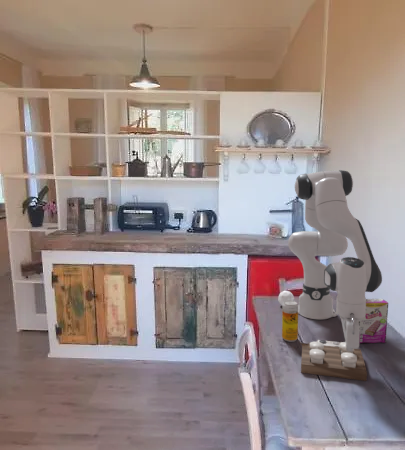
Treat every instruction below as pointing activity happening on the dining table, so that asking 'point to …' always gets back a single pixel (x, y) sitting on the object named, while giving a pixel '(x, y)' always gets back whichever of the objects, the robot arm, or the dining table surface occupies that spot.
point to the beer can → (290, 321)
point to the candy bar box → (374, 322)
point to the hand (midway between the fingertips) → (349, 349)
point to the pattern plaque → (329, 343)
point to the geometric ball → (285, 297)
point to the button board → (333, 364)
